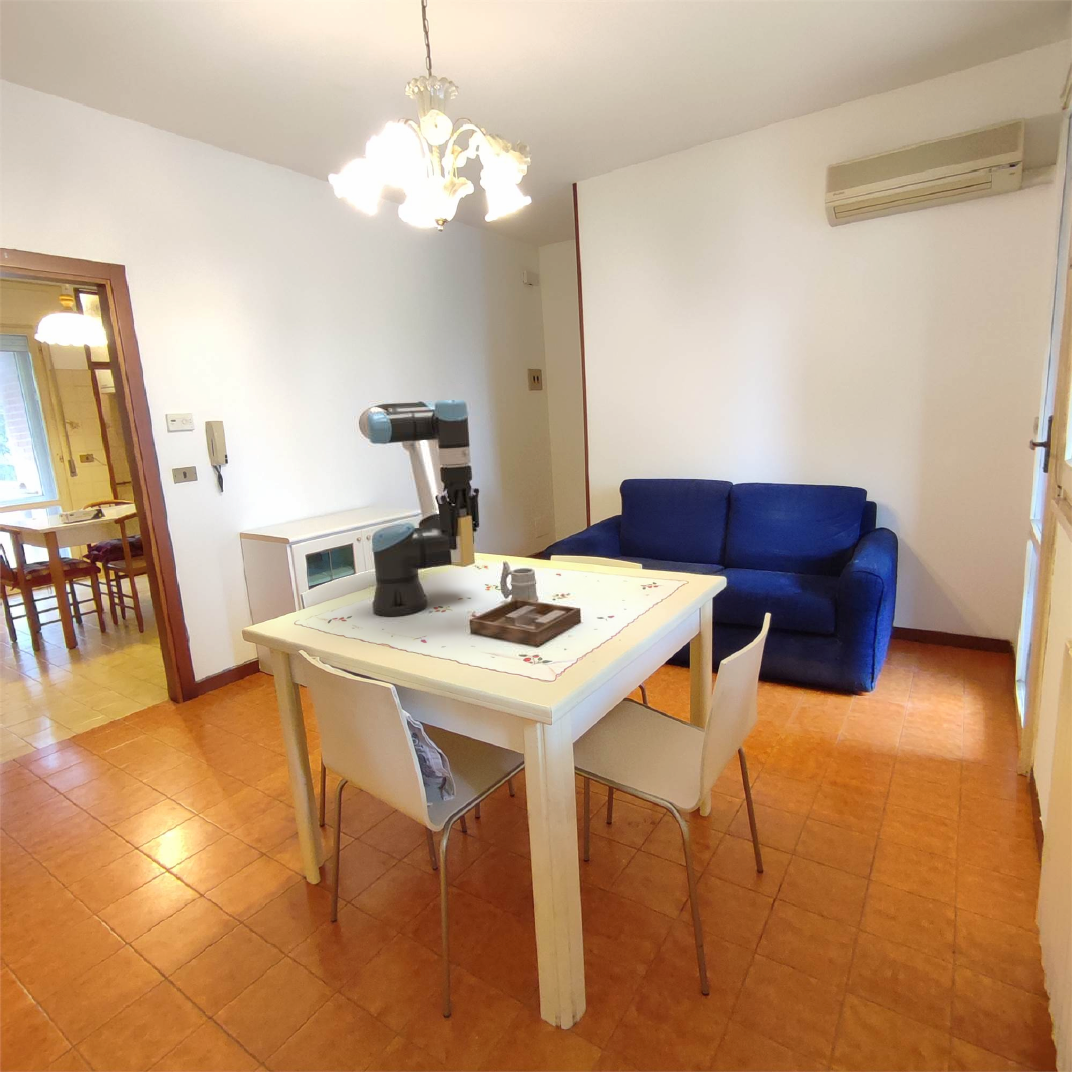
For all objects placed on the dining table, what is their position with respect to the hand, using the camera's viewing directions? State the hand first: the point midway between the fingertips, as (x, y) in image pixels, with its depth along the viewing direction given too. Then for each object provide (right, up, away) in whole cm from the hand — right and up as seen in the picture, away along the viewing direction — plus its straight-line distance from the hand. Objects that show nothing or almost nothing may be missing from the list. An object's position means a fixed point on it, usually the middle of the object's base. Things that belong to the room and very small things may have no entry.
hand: (463, 559), depth 154 cm
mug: (+13, -13, +19) cm, 26 cm away
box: (+16, -17, 0) cm, 23 cm away
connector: (0, -1, 0) cm, 1 cm away
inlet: (+18, -17, -2) cm, 25 cm away
